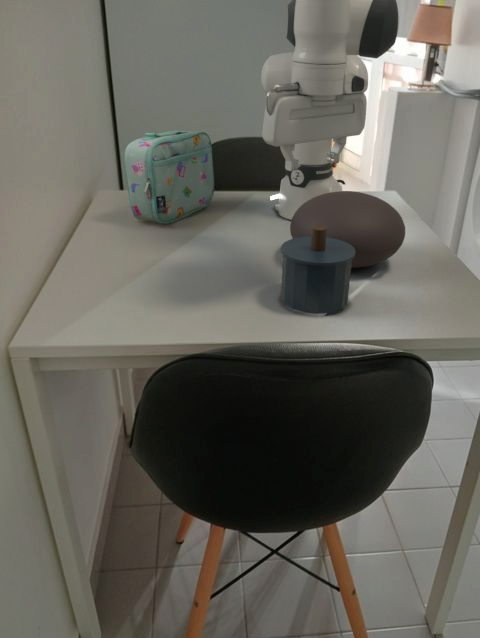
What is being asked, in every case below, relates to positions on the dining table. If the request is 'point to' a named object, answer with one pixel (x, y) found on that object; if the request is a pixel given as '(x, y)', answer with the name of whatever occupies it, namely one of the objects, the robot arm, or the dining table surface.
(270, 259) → the dining table surface
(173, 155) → the lunch box
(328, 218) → the flattened ellipsoid
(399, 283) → the dining table surface
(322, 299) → the tin
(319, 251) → the lid
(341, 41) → the robot arm
